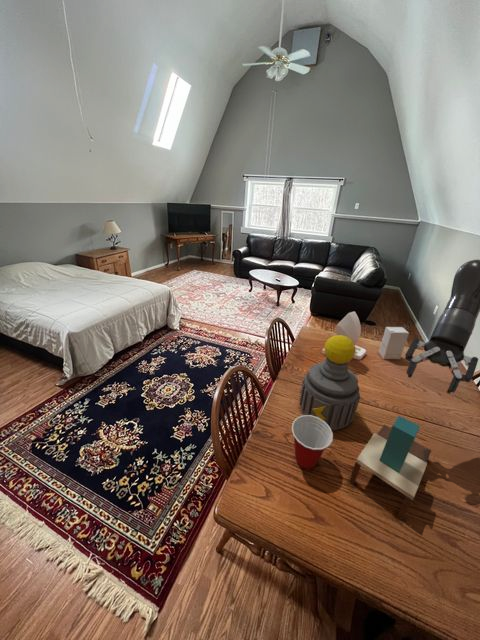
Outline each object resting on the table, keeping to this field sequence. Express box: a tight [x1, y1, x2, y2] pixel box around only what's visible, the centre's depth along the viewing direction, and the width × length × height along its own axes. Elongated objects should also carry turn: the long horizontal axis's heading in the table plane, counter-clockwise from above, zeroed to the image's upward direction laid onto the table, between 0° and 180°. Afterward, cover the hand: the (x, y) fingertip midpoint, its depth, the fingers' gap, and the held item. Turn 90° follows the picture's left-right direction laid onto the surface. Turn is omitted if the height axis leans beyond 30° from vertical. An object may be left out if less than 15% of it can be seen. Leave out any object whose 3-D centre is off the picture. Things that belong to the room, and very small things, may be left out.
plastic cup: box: [291, 414, 334, 470], centre depth 74 cm, size 11×11×12 cm
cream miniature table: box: [349, 424, 432, 521], centre depth 73 cm, size 13×24×9 cm, turn 135°
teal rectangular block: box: [379, 415, 421, 473], centre depth 65 cm, size 5×5×12 cm
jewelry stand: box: [321, 311, 367, 361], centre depth 124 cm, size 25×16×25 cm, turn 137°
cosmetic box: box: [378, 326, 410, 360], centre depth 127 cm, size 8×6×15 cm
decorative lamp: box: [299, 334, 361, 431], centre depth 88 cm, size 19×19×30 cm
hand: (428, 384), depth 67 cm, fingers open, 8 cm apart
